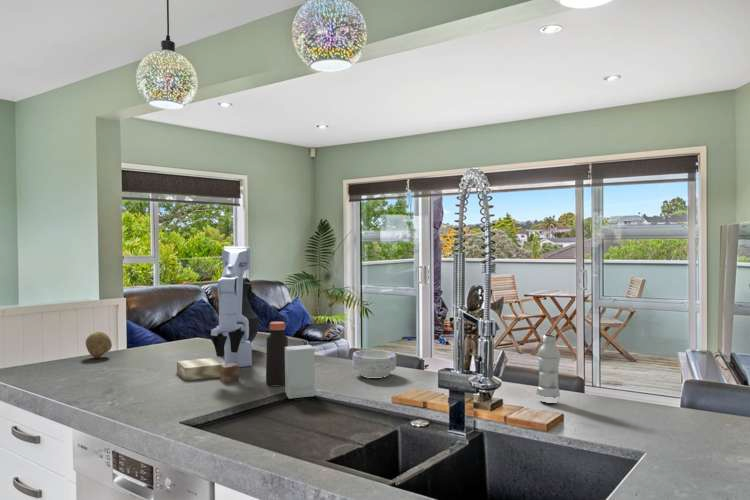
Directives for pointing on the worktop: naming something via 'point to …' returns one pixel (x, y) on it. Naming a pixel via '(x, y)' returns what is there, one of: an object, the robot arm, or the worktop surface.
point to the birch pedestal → (198, 368)
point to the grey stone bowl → (374, 362)
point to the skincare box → (299, 371)
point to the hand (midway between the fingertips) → (227, 354)
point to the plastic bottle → (548, 367)
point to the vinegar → (276, 354)
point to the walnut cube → (229, 372)
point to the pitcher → (247, 310)
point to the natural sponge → (98, 344)
